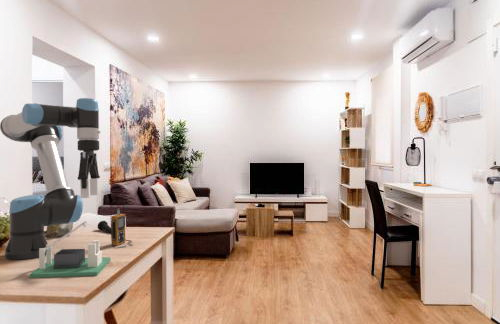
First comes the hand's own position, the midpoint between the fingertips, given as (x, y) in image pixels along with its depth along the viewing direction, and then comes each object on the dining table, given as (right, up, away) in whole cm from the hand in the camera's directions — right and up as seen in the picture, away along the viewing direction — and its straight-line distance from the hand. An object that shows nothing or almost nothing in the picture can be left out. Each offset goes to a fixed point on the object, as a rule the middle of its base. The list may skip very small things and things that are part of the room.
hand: (89, 196), depth 142 cm
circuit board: (-2, -24, -9) cm, 26 cm away
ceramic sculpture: (-34, -24, +42) cm, 59 cm away
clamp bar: (-4, -14, -10) cm, 18 cm away
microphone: (-14, -24, +53) cm, 59 cm away
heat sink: (-3, -23, -10) cm, 25 cm away
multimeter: (+5, -24, +26) cm, 36 cm away
